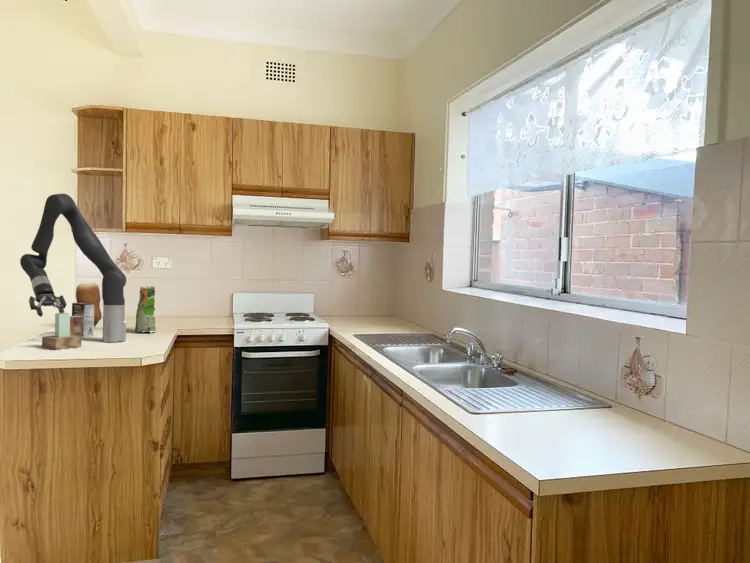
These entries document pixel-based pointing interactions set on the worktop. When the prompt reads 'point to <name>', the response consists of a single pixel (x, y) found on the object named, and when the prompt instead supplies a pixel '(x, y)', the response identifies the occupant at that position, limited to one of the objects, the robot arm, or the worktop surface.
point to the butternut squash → (90, 298)
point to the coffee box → (85, 316)
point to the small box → (76, 325)
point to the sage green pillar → (62, 325)
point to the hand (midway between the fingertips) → (51, 314)
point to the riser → (61, 342)
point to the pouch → (146, 310)
